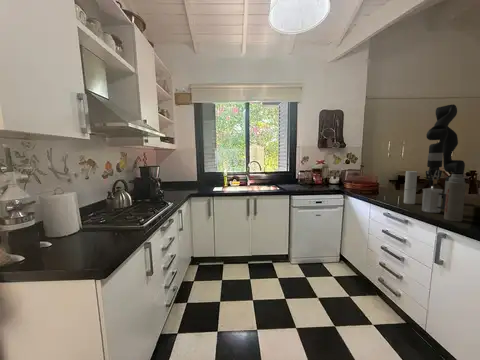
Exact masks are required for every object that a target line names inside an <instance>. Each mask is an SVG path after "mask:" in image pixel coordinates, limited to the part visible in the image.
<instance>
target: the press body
mask: <svg viewBox="0 0 480 360" xmlns="http://www.w3.org/2000/svg"><path fill="white" fill-rule="evenodd" d="M431 188H432V187H427V188H421V189H422V190H421V191H422V200H421V201H422V203H421V211H423V212H424V213H432V214H439V213H441V210H445V201H446V194H444V192H443V191H444V189H441V188H434V190H432V189H431Z"/></svg>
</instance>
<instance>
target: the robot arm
mask: <svg viewBox="0 0 480 360" xmlns="http://www.w3.org/2000/svg"><path fill="white" fill-rule="evenodd" d="M457 114H458V106H456V105H455V104H448V105H443V106H439V107H436V109H435V118H436V122H435V123H434V125H433V126H432V127H431V128H429V129H428V131H427V132H426V139H427V140H429V141H437V142H436V143H431V144H430V145H429V147H428V154H427V162H426V163H427V164H426V166H427V168H428V170H425V177H426V180H428V186H429V187H432V186H433V180H434V179H437V182H438V181H439V180H441V177H442V173H443V170H441V169H440V168H442V167H443V169H444V171H445V172H448V173H452V172H461V173H463V175H464V174H465V168H466V167H465V166H466V163H465V161H464V160H461V159H452V154H453V152H455V150H456V148H457V146H458V144H459V140H458V134H457V133H456V131H454V129H452V128H451V127H449V124H451V122H453V120H454V119H455V118H456V116H457ZM450 177H451V176H446V177H445V182H444V192H443V193H444V194H446V189H447V181H449V178H450ZM436 186H437V187H438V183H437V184H434V187H436Z"/></svg>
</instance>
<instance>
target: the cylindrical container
mask: <svg viewBox="0 0 480 360" xmlns="http://www.w3.org/2000/svg"><path fill="white" fill-rule="evenodd" d="M404 181H405V182H404V191H403V192H404V193H403V203H404V204H408V205H415V204H416V195H417V193H416V192H417V181H418V171H416V170H406V171H405V177H404Z"/></svg>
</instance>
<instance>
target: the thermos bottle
mask: <svg viewBox="0 0 480 360" xmlns="http://www.w3.org/2000/svg"><path fill="white" fill-rule="evenodd" d="M449 177H450V176H449ZM466 189H467V182H466V179H465V177H464V174H463V173H461V172H451V177H450V178H449V181H447V189H446V201H445V209H444V213H443V214H444V215H443V219H444V220H446V221H451V222H463V219H464V218H463V217H464V206H465V205H464V204H465V197H466V196H465V195H466Z"/></svg>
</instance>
